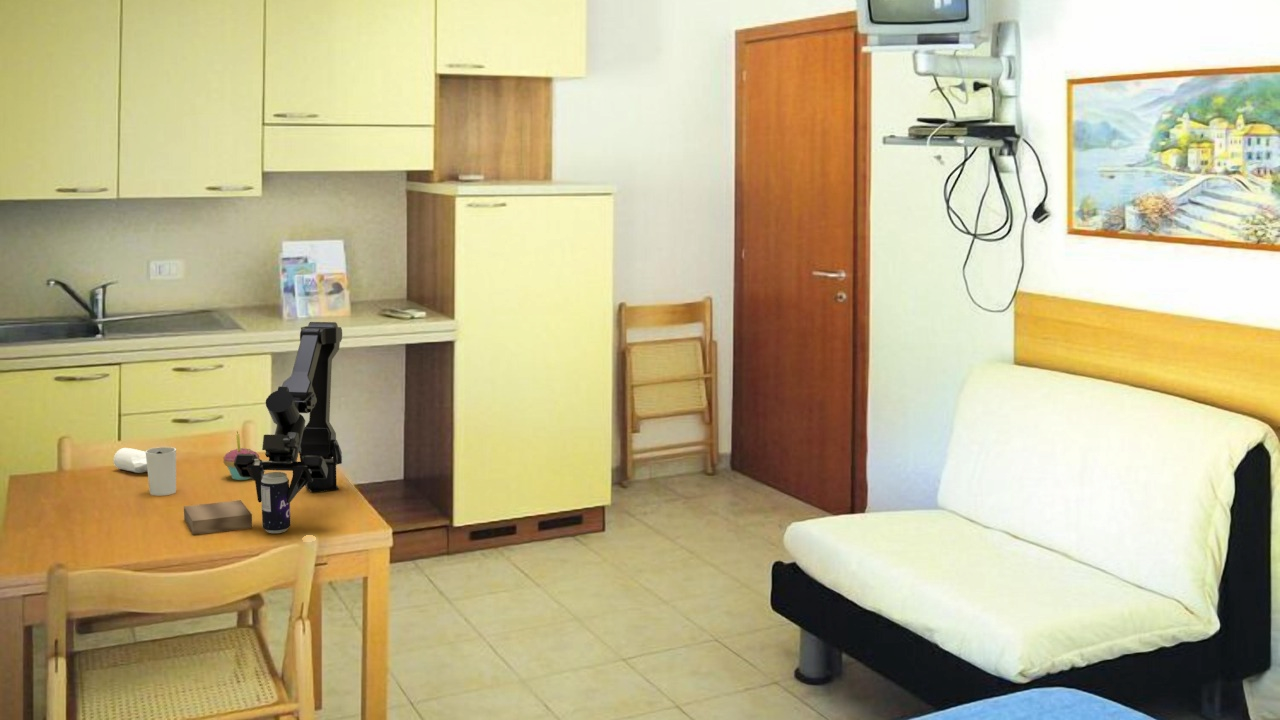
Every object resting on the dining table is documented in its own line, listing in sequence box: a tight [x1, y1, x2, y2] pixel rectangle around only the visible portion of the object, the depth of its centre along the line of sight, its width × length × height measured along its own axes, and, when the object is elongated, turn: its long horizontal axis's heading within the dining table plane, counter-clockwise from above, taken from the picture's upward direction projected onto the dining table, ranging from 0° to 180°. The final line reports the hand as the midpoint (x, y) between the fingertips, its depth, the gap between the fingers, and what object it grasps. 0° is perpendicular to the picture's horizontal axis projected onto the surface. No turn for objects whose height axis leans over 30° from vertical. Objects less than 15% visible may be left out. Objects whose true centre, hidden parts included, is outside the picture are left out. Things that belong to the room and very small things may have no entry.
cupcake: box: [222, 430, 260, 481], centre depth 320 cm, size 9×8×12 cm
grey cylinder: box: [145, 446, 177, 497], centre depth 306 cm, size 7×7×10 cm
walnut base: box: [183, 500, 253, 536], centre depth 283 cm, size 12×12×3 cm
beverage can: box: [261, 471, 291, 534], centre depth 277 cm, size 6×6×12 cm
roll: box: [112, 447, 148, 474], centre depth 324 cm, size 6×12×6 cm, turn 55°
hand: (273, 501), depth 276 cm, fingers closed on beverage can, 6 cm apart
